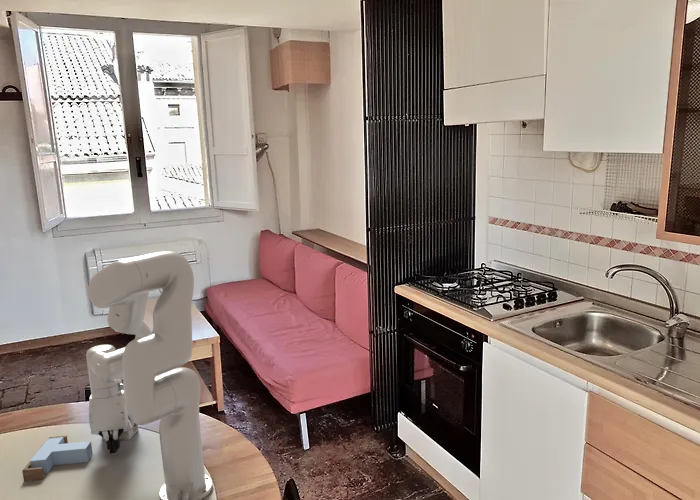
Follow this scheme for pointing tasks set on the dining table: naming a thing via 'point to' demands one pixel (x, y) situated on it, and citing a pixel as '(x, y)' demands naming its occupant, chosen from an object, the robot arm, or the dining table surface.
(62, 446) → the t block
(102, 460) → the dining table surface
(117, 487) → the dining table surface
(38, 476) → the wooden u-shaped bracket
